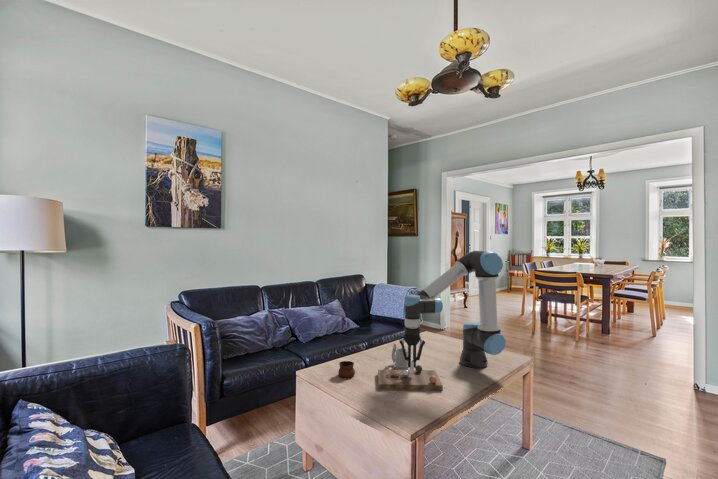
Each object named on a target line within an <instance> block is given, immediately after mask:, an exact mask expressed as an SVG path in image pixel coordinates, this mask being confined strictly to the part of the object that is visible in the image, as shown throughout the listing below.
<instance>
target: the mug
mask: <svg viewBox="0 0 718 479" xmlns="http://www.w3.org/2000/svg"><path fill="white" fill-rule="evenodd" d="M405 352H406V356H407V357H408V348H407V349H406V348H405ZM391 361H392V363H394V368H395V370H409V367H408V361H407V360H405V358H404V354H403V350H402V347H401V348H397V344H396V343H393V346H392V351H391Z"/></svg>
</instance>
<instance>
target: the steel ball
mask: <svg viewBox="0 0 718 479" xmlns="http://www.w3.org/2000/svg"><path fill="white" fill-rule="evenodd" d="M408 370H409V369H407V370H404V371H403V373H402V374H403V376H404V377H409V374H410V373H409V371H408Z"/></svg>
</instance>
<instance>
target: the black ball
mask: <svg viewBox="0 0 718 479" xmlns="http://www.w3.org/2000/svg"><path fill="white" fill-rule="evenodd" d="M414 370H416V371H417V372H421V371H422V370H423V367H422V366H421V365H420V364H418V365H417V364H416V368H414Z"/></svg>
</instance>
